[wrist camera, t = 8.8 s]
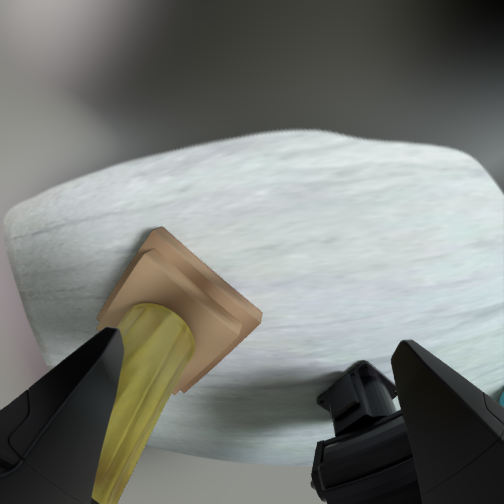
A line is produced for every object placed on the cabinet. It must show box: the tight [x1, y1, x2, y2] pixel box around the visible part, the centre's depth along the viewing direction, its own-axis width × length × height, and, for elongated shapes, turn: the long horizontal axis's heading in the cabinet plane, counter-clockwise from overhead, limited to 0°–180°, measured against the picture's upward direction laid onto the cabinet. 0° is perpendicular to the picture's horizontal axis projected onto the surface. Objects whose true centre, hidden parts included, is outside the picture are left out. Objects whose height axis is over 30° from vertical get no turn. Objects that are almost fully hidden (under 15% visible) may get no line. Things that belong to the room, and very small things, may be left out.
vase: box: [90, 303, 195, 504], centre depth 14 cm, size 6×6×14 cm
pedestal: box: [96, 227, 263, 395], centre depth 23 cm, size 11×11×4 cm
